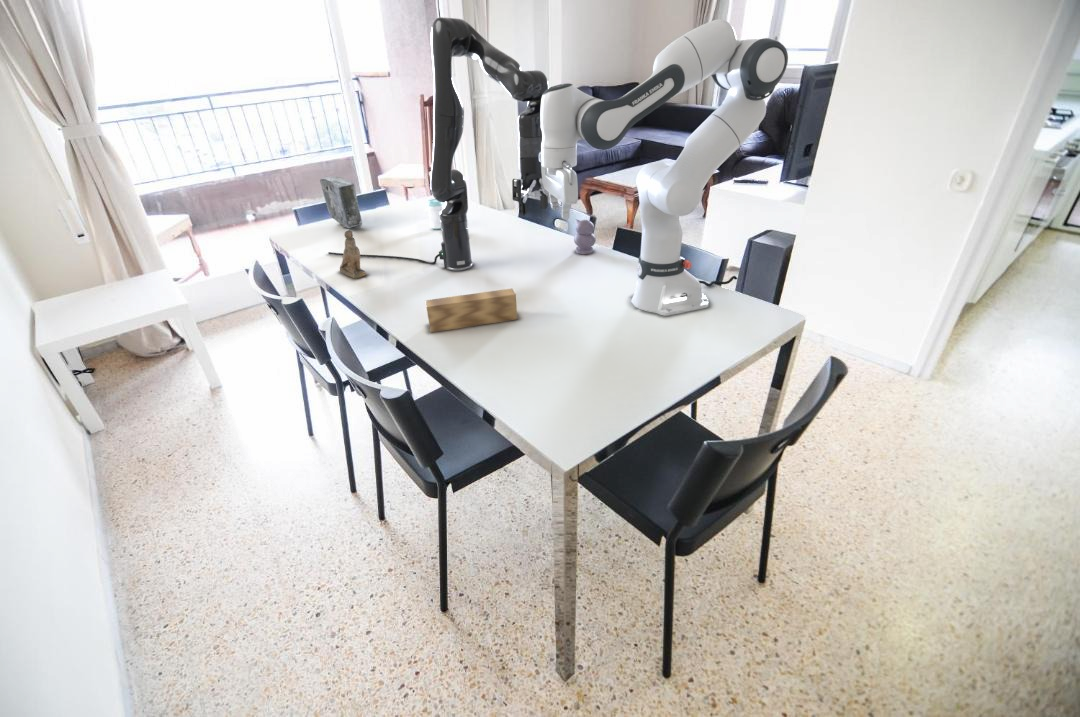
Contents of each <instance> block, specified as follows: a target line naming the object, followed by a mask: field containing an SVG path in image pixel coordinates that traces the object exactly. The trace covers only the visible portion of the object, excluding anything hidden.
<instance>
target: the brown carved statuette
mask: <svg viewBox="0 0 1080 717" xmlns="http://www.w3.org/2000/svg"><path fill="white" fill-rule="evenodd" d="M343 236H344V238H346V239H345V240H344V249H343V255H342V261H341V264H340V266H339V273H341V274H343V275H344V276H347V277H350V278H352V279H356V280H357V279H360V278H362V277H366V276H367V273H366V271H365V270H363V269H362V268H361V256H360V254H361V252H360V249H359V247H358V246H357V244H356V243H357V242H356V239H355V237H354V234H353V231H351V229H348V230H346V231H345V232H344V234H343Z"/></svg>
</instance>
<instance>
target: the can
mask: <svg viewBox="0 0 1080 717" xmlns="http://www.w3.org/2000/svg"><path fill="white" fill-rule="evenodd" d="M444 206H445V204H444V202H439V201H437V200H436V199H435V198H432V199H428V201H427V204H426V207H427V211H428V212H427V213H428V219H429V226H430V228H431V229H433V230H442V229H441V223H440V211H441V210H442V209H443V208H444Z"/></svg>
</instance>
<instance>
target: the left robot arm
mask: <svg viewBox="0 0 1080 717" xmlns="http://www.w3.org/2000/svg"><path fill="white" fill-rule="evenodd" d="M430 49H431V62H432V74H433V109H432V111H433V113H432V115H433V117H432V119H433V120H432V125H433V138H432V139H433V140H432V142H433V143H432V161H431V168H430V170H431V171H430V181H429V182H430V184H429V185H430V192H431V194H432V196H433V199H436V200H437V201H439V202H443V203H445V204H444V208H443V209H442V210H441V211H440V223H441V229H440V230H441V235H442V242H441V243H440V246H441V250H439V251H438V254H436V255H435V256H434V261H431V262H429V261H425V260H423V259H420V258H413V257H405V256H393V255H381V254H361V253H360V258H361V257H364V258H382V259H383V258H384V259H398V260H406V261H407V260H408V261H413V262H414V261H415V262H420V263H423V264H429V265H435V264H436V263H437V261H438V258H439V260H441V261H443V267H444V269H445V270H449V271H454V272H459V271H467V270H469V269H471V268H472V266H473V260H472V250H471V242H470V234H469V224H468V216H467V214H468V210H469V202H468V201H469V199H468V186H467V182H466V178H465V176H464V175H463V173H462V172H461V171H460V170H458V169H455V168H454V169H453V160H454V156H455V153H456V151H457V149H458V146H459V144H460V142H461V139H462V136H463V134H464V133H463V132H464V124H465V123H464V122H465V106H464V104H463V100H462V98H461V96H460V94H459V91H458V88H457V87H456V85H455V81H454V77H453V66H452V63H453V61H452V59H453V58H461V57H465V58H469V59H472V60H474V61H476V62H477V63H478V64H479V66H480V68H481V70H482V71H483V73H485V75H486V76H488V77H489V78H490V79H491V80H493V81H494V82H496V83H498V84H499V85H500V86H502V87H503V89H504V90H505V91H506V93H507V94H508V95H509V96H510V97H511V98H512V99H513V100H515V101H517V102H519V103H527V104H526V108H525V110H523V111H522V112H520V113H519V114H518V116H517V133H518V136H517V137H518V141H517V154H518V156H517V157H518V170H519V172H520V178H513V179H512V181H511V182H512V183H511V184H512V185H511V186H512V188H511V189H512V190H511V191H512V193H511V194H512V195H511V196H512V198H511V199H512V201H514V202H517V203H518V213H519V215H520V216H523V217H526V216H527V215H528V207H527V206H528V205H527V200H528V197H529V196H530V195H531V194H532V193H534V192H539V194H540V195H539V199H540V202H539V203H540V209H541V210H548V206H549V192H548V191H547V190H546V189H544V186H543V182H542V172H541V162H540V161H539V153H540V152H541V143H542V130H541V123H540V111H541V99H542V95H543V93H544V92H545V90H547V89H548V88H550V84H549V81H548V78H547V75H546V74H545V73H544V71H542V70H536V69H535V70H522V67H521V65H520V63H519V62H518V61H517V60H515V58H513V57H511V55H508V54H507V53H505V52H503V51H502V50H500V49H498V48H497V47H495V46H494V45H493V44H491V43H490V42H489V41H488V40H487V39H486V38H485V37H483V36H482V35H481V34H480V33H479V32H478V31H477V30H476V29H475V28H474V27H473V26H472V25H471V24H470V23H468V21H466V20H464V19H462V18H456V17H455V18H454V17H436V18H435V19H434V21H433V23H432V25H431V30H430ZM327 253H328V255H334V256H343V253H344V252H343V253H342V252H332V251H331V252H329V251H328V252H327Z"/></svg>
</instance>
